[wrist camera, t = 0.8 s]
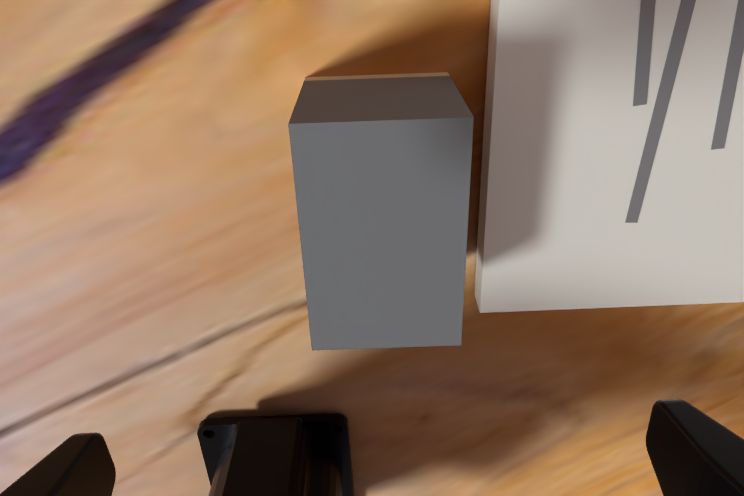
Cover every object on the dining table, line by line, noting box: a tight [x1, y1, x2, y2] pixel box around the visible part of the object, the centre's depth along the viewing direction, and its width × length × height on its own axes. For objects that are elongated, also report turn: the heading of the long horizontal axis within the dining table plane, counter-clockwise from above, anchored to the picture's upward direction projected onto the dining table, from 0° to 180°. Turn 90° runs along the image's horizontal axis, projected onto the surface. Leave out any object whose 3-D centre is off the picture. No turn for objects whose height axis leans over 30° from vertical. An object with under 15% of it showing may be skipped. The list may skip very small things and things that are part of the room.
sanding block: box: [289, 72, 474, 350], centre depth 18 cm, size 7×4×5 cm, turn 2°
